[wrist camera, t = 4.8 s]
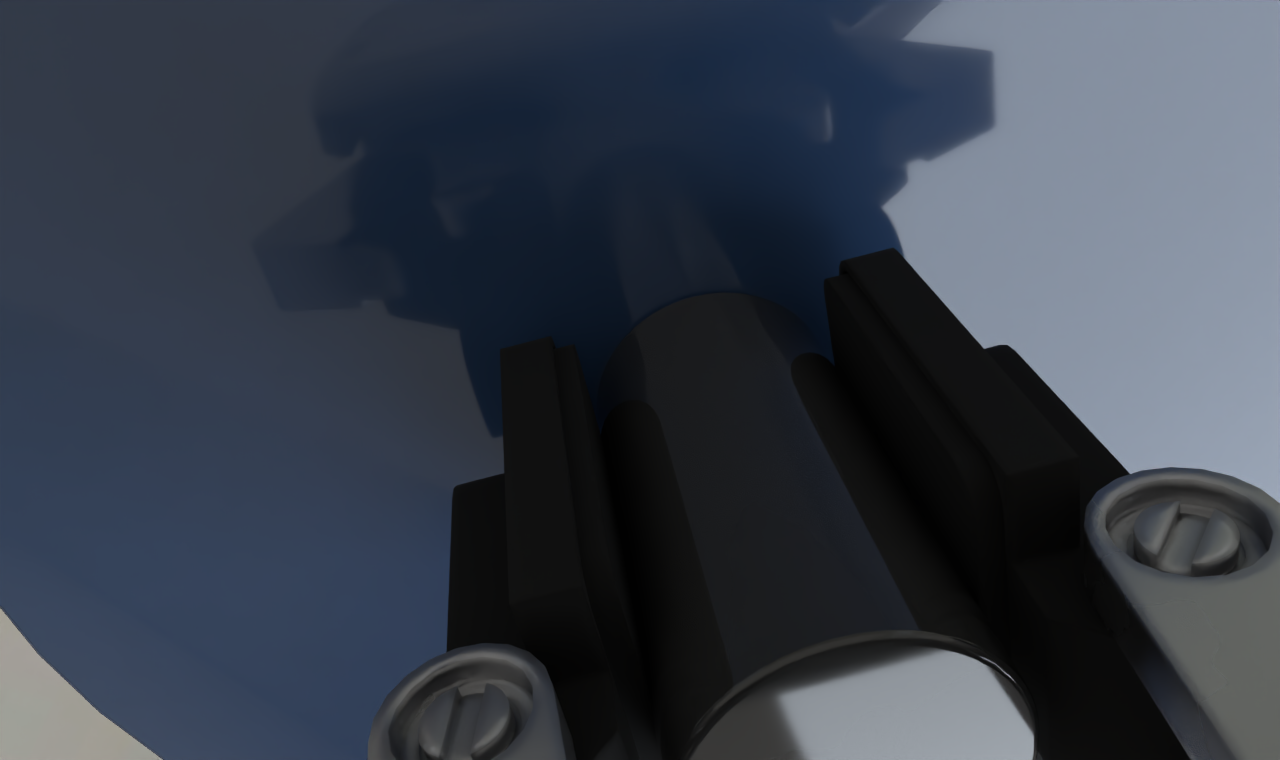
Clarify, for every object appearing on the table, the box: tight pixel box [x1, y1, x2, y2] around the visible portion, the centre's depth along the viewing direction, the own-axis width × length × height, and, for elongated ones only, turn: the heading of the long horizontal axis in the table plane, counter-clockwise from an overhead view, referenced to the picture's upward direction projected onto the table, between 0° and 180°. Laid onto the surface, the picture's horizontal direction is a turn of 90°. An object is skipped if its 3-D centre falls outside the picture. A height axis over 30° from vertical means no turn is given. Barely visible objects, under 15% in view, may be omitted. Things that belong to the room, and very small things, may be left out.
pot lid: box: [0, 0, 1280, 760], centre depth 10 cm, size 17×17×6 cm
